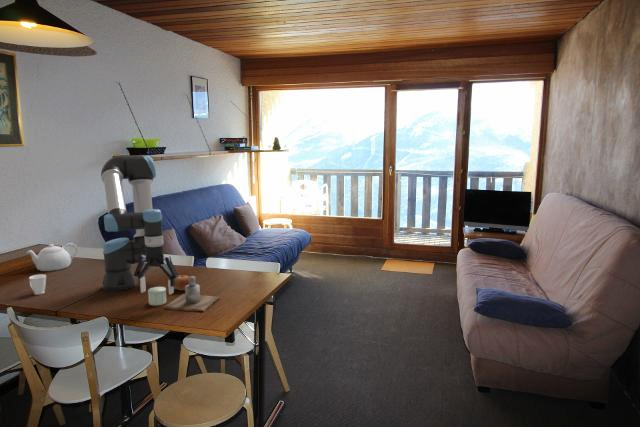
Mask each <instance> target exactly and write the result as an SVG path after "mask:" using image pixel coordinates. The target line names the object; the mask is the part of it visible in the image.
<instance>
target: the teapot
mask: <svg viewBox="0 0 640 427" xmlns="http://www.w3.org/2000/svg"><path fill="white" fill-rule="evenodd" d="M68 246H73V247H74V248H75V253H74V254H73V255H72V256H71V255H70V253H69V252H68V249H67V247H68ZM78 252H79V250H78V247H77V245H76V244H74V243H72V242H69V243H67V244H65V245H64V247H63V246H58V245H54V244H53V243H50V244H48V246H46V247H44V248H43V249H41V250H40V251H39V252H38V254H36V253H35V252H34V251H33V250H32V249H29V250H27V251H26V254H29V255H30V256H31V260H32V262H33V264H34V265H35V267H36V269H37V271H39V270H40V271H39V272H54V270H55V271H60V270H63V269H67V268H68V267H69V266H71V263H72V262H73V259H74V258H75V257H76V256H77V255H78Z"/></svg>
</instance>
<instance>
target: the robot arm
mask: <svg viewBox="0 0 640 427" xmlns="http://www.w3.org/2000/svg"><path fill="white" fill-rule="evenodd" d="M100 177H101V181H102V182H103V184H104V190H105V199H106V207H107V214H105V215H103V223H104V230H105V231H106V232H110V233H111V232H123V231H134V230H135V232H136V233H135V234H134V235H133V239H132V240H130V238H128V237H120V238H119V237H118V238H115V239H110V240H108V241H106V242H105V243H104V244H103V247H102V248H103V252H102V255H103V259H104V260H103V261H104V276H103V280H102V283H101V288H102V290H103V291H107V292H119V291H126V290H129V289H133V288H134V287H135V286H137V281H136V280H137V279H136V278H138V285H140V293H145V292H146V291H147V285H146V277H145V274H146V272H148V270H149V269H150V268H151V267H157V268H158V267H159V268H160V269H161V270H162V271H163V273H164V274H165V275H166V276H167V277H168V279H167V284H168V285H167V286H168V295H172V294H174V292H175V291H174V290H175V289H174V288H175V278H177V277H178V276H180V275H179V273H178V272H177V269H176V267H175V265H174V264H173V261H172V257H171V256H170V255H168V256H165V255H164V254H165V246H164V233H163V216H162V211H161V209H159V208H154V207H153V200H152V190H151V189H152V187H151V186H152V183H153V182H154V179H155V178H156V177H157V173H156V165H155V163H154V159H153V158H152V156H150V155H142V154H139V155H137V154H136V155H135V154H132V155H130V154H129V155H116V156H113V157H111V158H109V159H108V160H107V161H106V162H105V163H104V165H103V167H102V169H101V172H100ZM123 180H127V181H128V184H129V185H130V186H131V188H132V197H133V198H132V199H133V211H134V212H128V211H127V206H126V200H125V193H124V188H123ZM136 264H137V266H136V268H135V270H134V273H133V271H132V265H136ZM144 264H145V265H144ZM143 266H144V267H143Z"/></svg>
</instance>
